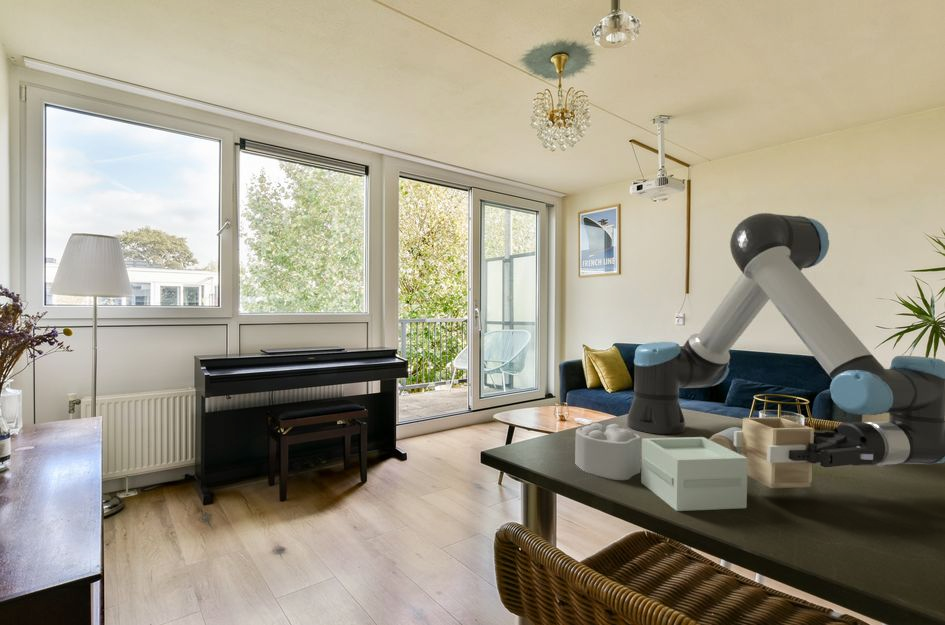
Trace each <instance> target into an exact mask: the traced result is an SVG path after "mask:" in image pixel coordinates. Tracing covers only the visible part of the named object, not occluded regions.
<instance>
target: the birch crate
mask: <svg viewBox="0 0 945 625" xmlns="http://www.w3.org/2000/svg"><path fill="white" fill-rule="evenodd" d="M741 427H742V428H741V429H742V454H741V455H742V456H744V457H747V458H748V465H747V477H749V478H752V479H754V480H756V481H757V482H758V483H760V484H762V485H764V486H766V487H768V488H770V489H785V488H786V489H787V488H789V489H791V488H811V487H812V486H813V464H814V463H810V462H808V461H806V462H781V463H769V462H767V445H802V444H803V445H805V446H806V450H808V443H809V442H810V443H813V440H814V431H815V428H813V427H810V426H806V425H804V424H801V423H799V422H795V421H793V420H789V419H786V418H784V417H779V416H778V417H776V416H775V417H767V416H766V417H742V426H741Z"/></svg>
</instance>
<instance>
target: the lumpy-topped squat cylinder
mask: <svg viewBox="0 0 945 625" xmlns="http://www.w3.org/2000/svg"><path fill="white" fill-rule="evenodd" d="M574 442H575V445H574V446H575V448H574V451H575V453H574V454H575V455H574V463H575V464H576V465H577V466H578V467H579V468H580V470H581V469H582V470H581V471H582V472H584V471H585V473H587V472H588V473H587V474H590V473H591V474H590V475H593V474H594V476H597V477H601V478H604V479H605V478H606V479H609V480H615V481H626V480H630V479H631V478H632V477H633V476H635V475H638V474H640V473H641V467H642V437H641V436H640V435H639V434H637V433H634V432H633V431H631V430H629V429H627V428H623V427H622V426H621V425H620V424H618V423H611V424H608V425H606V426H605V425H603V424H601V423H599V422H592V423H591V424H590V425H586V426H582V427H578V428H577V429H575V441H574ZM576 465H575V466H576ZM577 466H576V467H577ZM578 467H577V468H578ZM579 468H578V469H579Z"/></svg>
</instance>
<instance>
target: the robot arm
mask: <svg viewBox="0 0 945 625" xmlns="http://www.w3.org/2000/svg"><path fill="white" fill-rule="evenodd" d="M729 244H730V246H729V247H730V253H731V255H732V258H733V260H734V262H735V264H736V266H737V267H738V269H739V270H740V272H741V274H740V275H739V276H738V278H737V279H736V281H735V283H734V284H733V285H732V286H731V288H730V289H729V291H728V292H727V294H726V295H725V296H724V297H723V299H722V300H721V301H720V304H719V305H718V306H717V308H716V309H715V311H714V312H713V313H712V315H711V316H710V317H709V319H708V321H707V322H706V323H705V324H704V326H703V328H701V330H700V332H699V333H693V334H691V335H690V336H689V338H688V339H687V340H686V342H685V343H684V344H683V346H680V344H679V343H677V342H672V341H659V342H655V341H654V342H648V343H644V344H640V345H638V346H637V347H636V349H635V351H634V359H633V363H634V369H633V370H634V373H633V374H634V380H633V381H634V382H633V384H634V385H633V399H632V403H631V406H630V408H629V410H628V413H627V417H626V425H627V426H628V427H629V428H631V429H632V430H636V431H640V432H643V433H644V432H645V433H651V434H660V435H674V434H675V435H676V434H682V433H684V432H685V431H686V420H685V418H684V417H685V416H684V414H683V411H682V407H681V404H680V401H679V400H680V398H679V397H680V389H690V388H691V389H693V388H695V389H696V388H709V387H714V386H716V385H719V384H720V383H722V382H723V381H724V380H725V379H726V378H727V376H728V374H729V372H730V368H729V366H730V359H731V355H730V350H731V349H732V347H734V345H735V344H736V342H737V341H738V340H739V338H740V337H741V336H742V335H743V334H744V332H745V331H746V330H747V329H748V327H749V326H750V325H751V323H752V322H753V321H754V319H755V318H756V317H757V315H759V313H760V311H762V309H763V308H764V307H765V306H766V304H767V303H768V302H769V301H771V302H772V304H773V305H774V307H775V308H776V309H777V310H778V312H779V313H780V314H781V316H782V317H783V318H784V320H785V321H786V322H787V323H788V325H789V326H790V328H792V330H793V331H794V332H795V334H796V335H797V336H798V337H799V339H800V340H801V341H802V343H803V344H804V345H805V346H806V348H807V349H808V351H809V352H810V353H811V354H812V355H813V357H814V358H815V360H816V361H817V362H818V363H819V364H820V366H821V368H822V369H823V370H824V371H825V373H826V374H828V376H829V377H830V379H831V380H832V381H831V383H830V385H829V391H830V397H831V399H832V401H833V403H835V405H836V406H837V407H838V408H839V409H841V410H842V411H844V412H846V413H848V414H851V415H856V416H857V415H859V416H861V415H862V416H863V415H864V416H876V415H882V414H888V421H864V422H863V421H860V422H859V421H857V422H856V421H853V422H850V421H849V422H847V421H846V422H842V423H839V424H838V425H836V427H835V428H834V429H833V430H828V429H823V430H814V440H813V443H810V442H809V443H808V450H806V446H805V445H803V444H802V445H767V462H769V463H781V462H806V461H808V462H810V463H813V464H818V463H820V464H819V465H820V466H821V467H824V468H833V467H835V468H836V467H841V466H843V467H844V466H857V467H858V466H874V465H877V467H881V468H884V467H885V465H913V464H914V465H933V464H942V463H945V361H944V360H942V359H939V358H934V357H928V356H927V357H925V356H918V355H917V356H915V355H897V356H894V357H893V358H892V359H891V364H890V366H889V368H885V367H884V366H883V365H882V364H881V363H880V362H879V360H877V358H876V357H875V356H874V355H873V354H872V353H871V352H870V350H868V347H866V346H865V345H864V343H863V342H862V341H861V340H860V338H858V336H857V335H856V334H855V333H854V332H853V330H852V329H851V328H850V327H849V325H847V324H846V322H845V321H844V320H843V319H842V318H841V316H840V315H839V314H838V313H837V311H835V310H834V308H833V307H832V306H831V305H830V304H829V302H828V301H827V300H826V299H825V298H824V296H823V295H822V294H821V293H820V292H819V291H818V289H816V287H815V286H814V285H813V283H811V282H810V280H809V279H808V278H807V276H805V274H804V273H803V272H802V270H803V269H809V268H812V267H814V266H817V265H818V264H820V262H822V261H823V260H824V259H825V257H826V255H827V253H828V251H829V248H830V239H829V233H828V230H827V228H826V227H825V225H823V224H822V223H821V222H820V221H818V220H817V219H814V218H809V217H806V216H802V215H788V214H787V215H786V214H777V213H769V212H768V213H767V212H764V213H763V212H761V213H756V214H752V215H750V216H748V217H746V218H744V219H742V220H741V221H740V222H739V223H738V224H737V226H736V227H735V228H734V230H733V232H732V234H731V237H730V242H729ZM734 446H736V447H742V431H734Z"/></svg>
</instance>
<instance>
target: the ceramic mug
mask: <svg viewBox="0 0 945 625" xmlns="http://www.w3.org/2000/svg"><path fill="white" fill-rule="evenodd" d="M734 431H742V428H741V427H736V426H735V427H734V426H733V427H729V428H726V429H724V430H722V431H720V432H717V433H715V434H713V435H711V437H709V438H708V440H711V441H713V442H715V443H717V444H719V445H721V446H723V447H725V448H728V449H730V450H732V451H734V452H736V453H738V454H740V455H741V454H742V447H736V446H734Z"/></svg>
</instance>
